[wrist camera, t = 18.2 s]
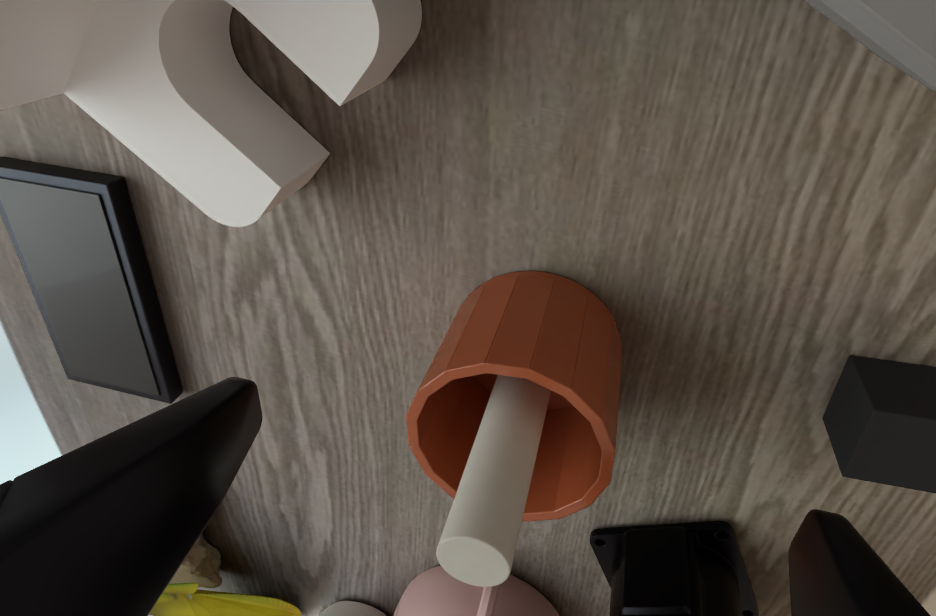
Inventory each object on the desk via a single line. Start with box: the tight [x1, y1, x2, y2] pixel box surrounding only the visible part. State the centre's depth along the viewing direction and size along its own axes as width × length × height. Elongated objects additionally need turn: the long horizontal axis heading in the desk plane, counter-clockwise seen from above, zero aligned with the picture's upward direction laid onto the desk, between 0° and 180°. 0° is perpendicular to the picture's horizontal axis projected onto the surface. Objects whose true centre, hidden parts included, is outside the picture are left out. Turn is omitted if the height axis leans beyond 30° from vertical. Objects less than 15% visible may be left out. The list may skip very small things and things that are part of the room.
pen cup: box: [406, 271, 623, 521], centre depth 22 cm, size 7×7×6 cm
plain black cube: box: [823, 355, 936, 493], centre depth 20 cm, size 3×3×3 cm
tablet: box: [0, 157, 183, 404], centre depth 29 cm, size 12×6×1 cm, turn 177°
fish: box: [149, 583, 302, 616], centre depth 38 cm, size 3×16×10 cm
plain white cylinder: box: [437, 375, 551, 587], centre depth 20 cm, size 2×2×10 cm
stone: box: [169, 534, 222, 588], centre depth 38 cm, size 13×4×10 cm
